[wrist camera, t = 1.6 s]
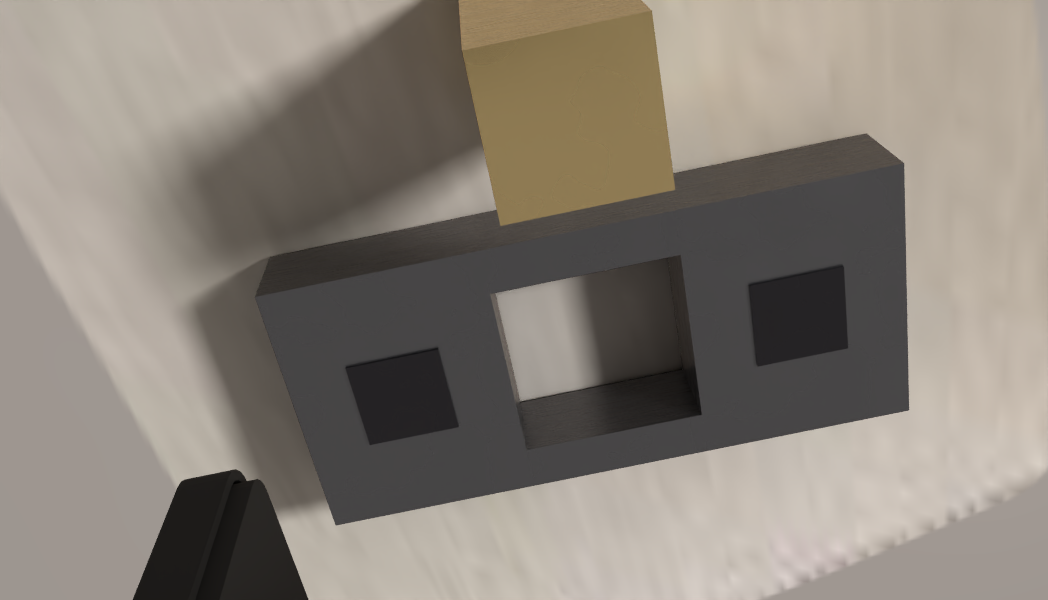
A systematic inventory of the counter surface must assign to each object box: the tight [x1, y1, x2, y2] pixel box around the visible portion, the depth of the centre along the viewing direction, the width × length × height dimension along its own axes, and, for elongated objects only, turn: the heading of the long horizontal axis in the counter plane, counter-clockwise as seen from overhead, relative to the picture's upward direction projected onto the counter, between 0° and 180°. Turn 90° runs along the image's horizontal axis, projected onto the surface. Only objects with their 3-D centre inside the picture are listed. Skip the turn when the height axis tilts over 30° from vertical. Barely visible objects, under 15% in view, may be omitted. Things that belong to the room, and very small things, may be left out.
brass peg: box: [459, 0, 675, 226], centre depth 26 cm, size 4×4×10 cm
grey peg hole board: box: [255, 134, 909, 525], centre depth 34 cm, size 9×20×3 cm, turn 101°
